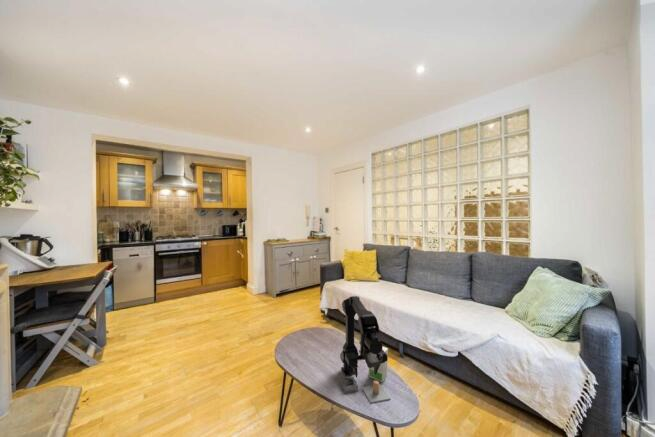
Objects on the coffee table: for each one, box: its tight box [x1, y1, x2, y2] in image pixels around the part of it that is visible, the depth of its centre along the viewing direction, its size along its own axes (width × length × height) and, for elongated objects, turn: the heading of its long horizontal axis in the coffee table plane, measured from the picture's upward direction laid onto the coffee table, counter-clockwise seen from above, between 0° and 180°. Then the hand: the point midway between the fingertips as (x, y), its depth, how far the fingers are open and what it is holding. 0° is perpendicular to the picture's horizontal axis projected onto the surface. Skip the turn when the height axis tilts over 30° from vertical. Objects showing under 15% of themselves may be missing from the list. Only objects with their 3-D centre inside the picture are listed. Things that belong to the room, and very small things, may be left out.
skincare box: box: [368, 346, 389, 383], centre depth 133 cm, size 8×7×16 cm
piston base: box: [362, 380, 391, 404], centre depth 120 cm, size 10×10×6 cm
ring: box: [340, 376, 359, 394], centre depth 124 cm, size 7×7×2 cm
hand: (365, 375), depth 113 cm, fingers open, 9 cm apart
